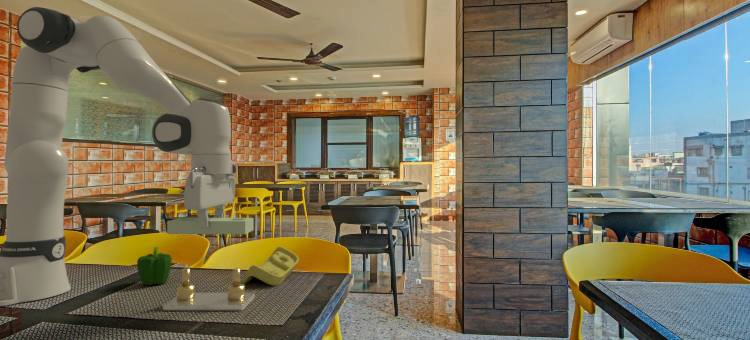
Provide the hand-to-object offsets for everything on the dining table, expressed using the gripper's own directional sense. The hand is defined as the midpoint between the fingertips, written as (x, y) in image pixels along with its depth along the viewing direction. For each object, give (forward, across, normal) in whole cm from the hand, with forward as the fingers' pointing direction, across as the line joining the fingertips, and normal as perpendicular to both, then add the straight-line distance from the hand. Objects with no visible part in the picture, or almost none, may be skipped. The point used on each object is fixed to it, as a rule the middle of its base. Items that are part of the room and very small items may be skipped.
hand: (211, 225), depth 92 cm
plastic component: (+19, +24, -9) cm, 32 cm away
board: (+2, 0, 0) cm, 2 cm away
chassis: (+19, 0, 0) cm, 19 cm away
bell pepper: (+19, +17, +23) cm, 34 cm away
